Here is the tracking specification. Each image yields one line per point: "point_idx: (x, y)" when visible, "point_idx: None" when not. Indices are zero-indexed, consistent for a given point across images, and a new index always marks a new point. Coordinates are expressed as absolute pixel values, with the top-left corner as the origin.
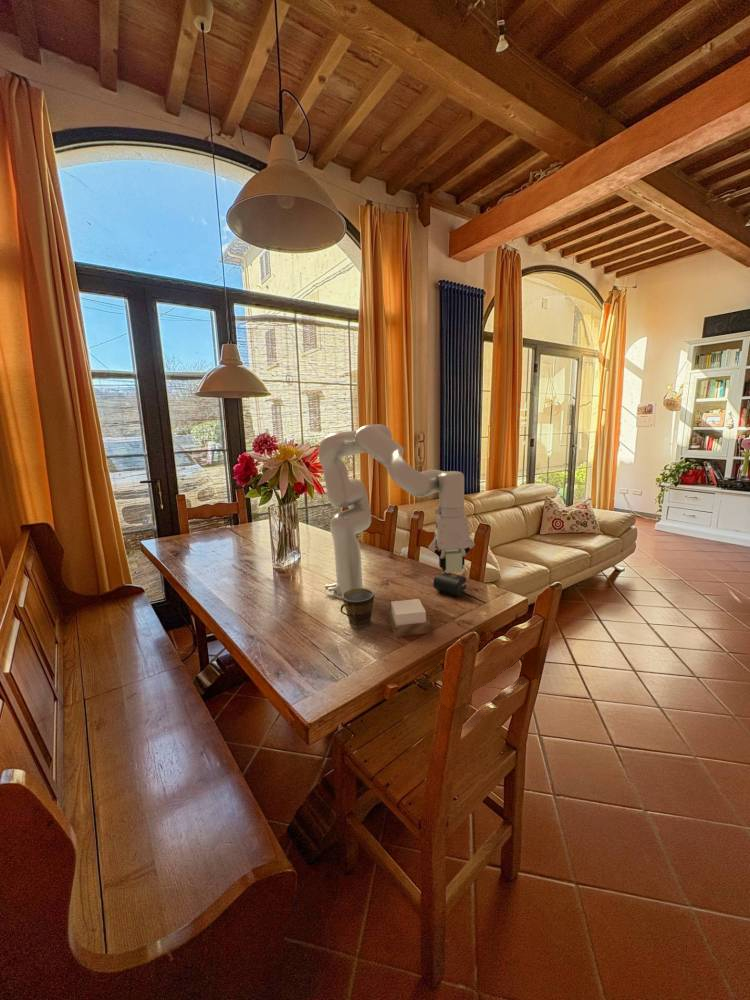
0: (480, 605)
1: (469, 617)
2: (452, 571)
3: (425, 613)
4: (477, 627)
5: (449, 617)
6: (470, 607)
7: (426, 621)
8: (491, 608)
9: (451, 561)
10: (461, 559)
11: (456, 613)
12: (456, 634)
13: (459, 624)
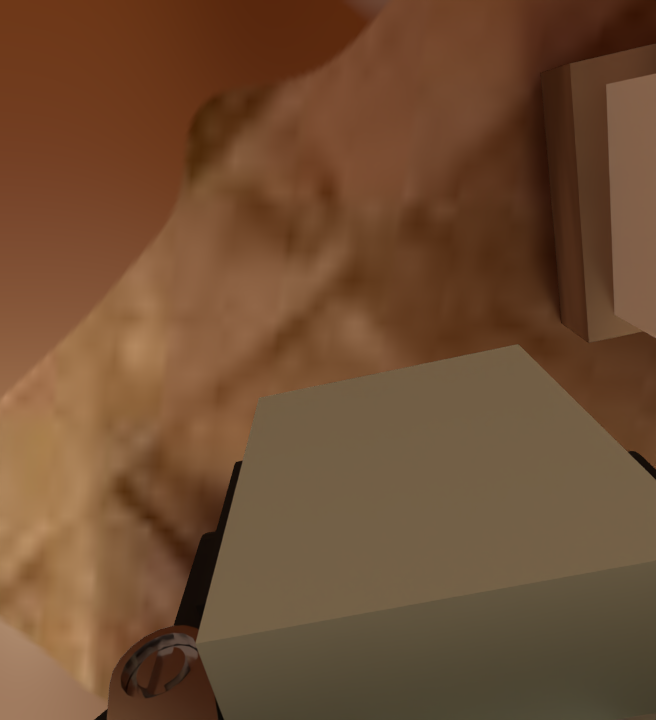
0: (152, 452)
1: (242, 290)
2: (422, 372)
3: (648, 76)
4: (200, 143)
5: (378, 293)
6: (221, 427)
7: (599, 98)
8: (83, 411)
9: (485, 455)
10: (247, 514)
11: (323, 348)
12: (362, 38)
13: (322, 191)
